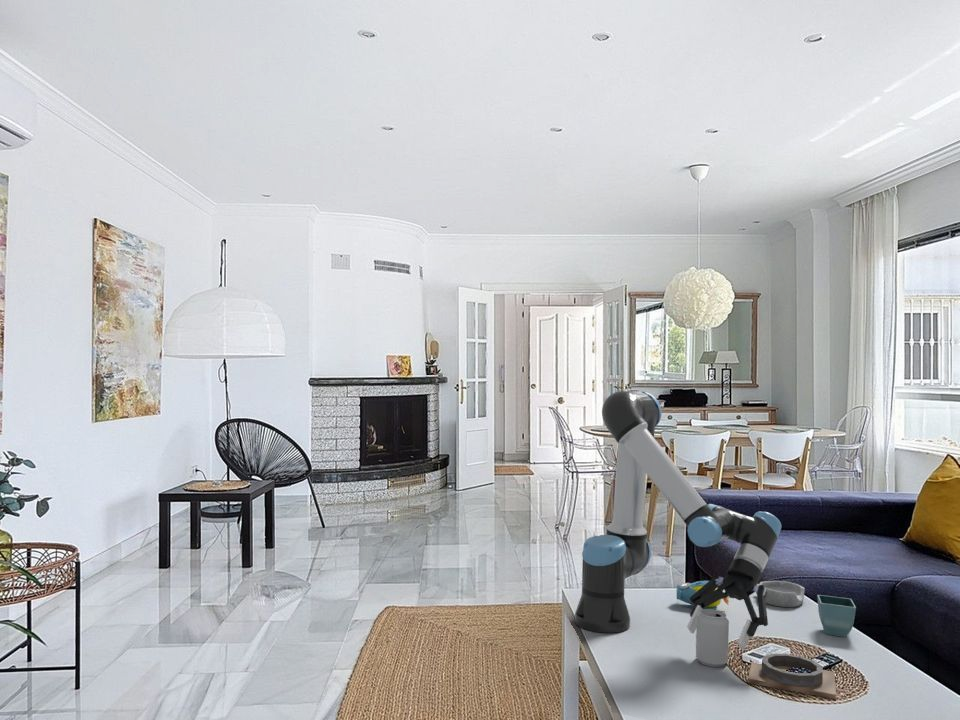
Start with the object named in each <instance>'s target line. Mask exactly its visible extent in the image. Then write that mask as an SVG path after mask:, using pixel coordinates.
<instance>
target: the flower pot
mask: <svg viewBox="0 0 960 720" xmlns="http://www.w3.org/2000/svg"><path fill="white" fill-rule="evenodd" d="M816 597H817V609H818V616H819V620H820V623H821V625H822V628H823V631H824V633H825V634H826V635H828V636H829V635H830V636H836V637H837V636H838V637H842V638H844V637H845V638H847V637H848V635H850V633H851V632H852V630H853V627H854V622H855V618H856V617H855V616H856V610H857V606H856V605H855V603H854V601H853V599H852V598H848V597H841V596H839V597H838V596H831V595H822V594H817V595H816Z"/></svg>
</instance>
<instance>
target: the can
mask: <svg viewBox="0 0 960 720" xmlns="http://www.w3.org/2000/svg"><path fill="white" fill-rule="evenodd" d="M729 623H730V621H729V618H727V614H726V613H725V612H723V611H721V610H718V609H717V610H712V609H704V610H701V611H700V614H699V615H698V616H697V628H696V630H695V632H696V633H695V634H696V639H695V640H696V641H695V658H696V659H697V660H698V661H699V662H700V663H701V664H702V665H705V666H708V667H713V668H715V667H716V668H718V667H724V666H725V664H727V663H728V662H729V629H730V628H729V626H730V625H729Z"/></svg>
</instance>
